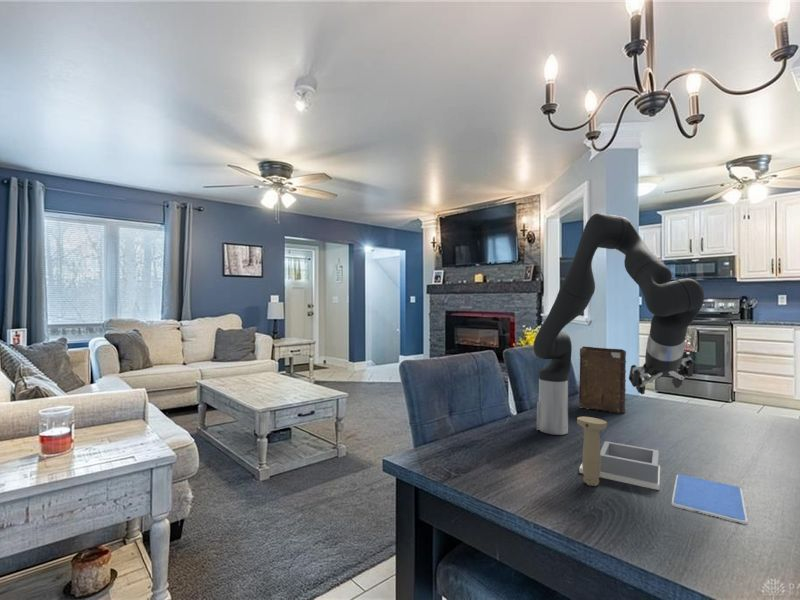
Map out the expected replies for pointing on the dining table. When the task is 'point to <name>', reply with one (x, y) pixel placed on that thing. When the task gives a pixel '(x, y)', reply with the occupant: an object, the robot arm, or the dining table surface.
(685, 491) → the tablet computer
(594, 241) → the robot arm
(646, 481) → the open box
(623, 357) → the book
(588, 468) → the handle
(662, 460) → the dining table surface
